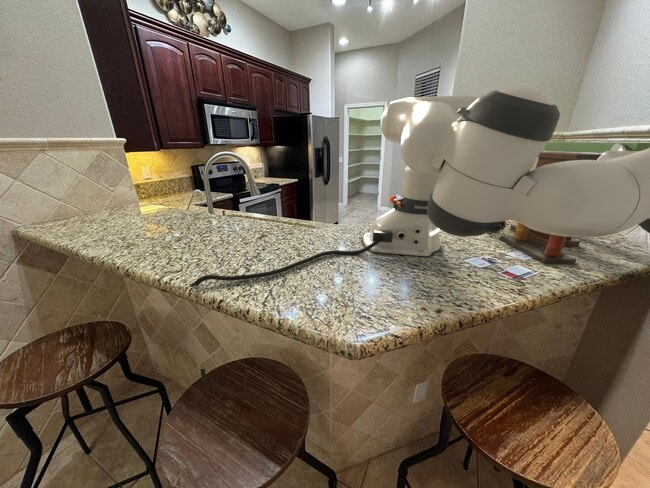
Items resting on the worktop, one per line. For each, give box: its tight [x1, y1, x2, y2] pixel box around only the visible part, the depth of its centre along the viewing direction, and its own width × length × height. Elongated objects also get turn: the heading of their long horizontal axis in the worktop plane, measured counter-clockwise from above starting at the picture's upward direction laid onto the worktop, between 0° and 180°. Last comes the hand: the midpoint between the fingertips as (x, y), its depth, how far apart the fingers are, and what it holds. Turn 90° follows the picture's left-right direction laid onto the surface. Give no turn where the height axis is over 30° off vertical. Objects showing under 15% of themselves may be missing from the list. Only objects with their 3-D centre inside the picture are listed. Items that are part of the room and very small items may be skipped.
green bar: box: [543, 141, 650, 154], centre depth 70 cm, size 3×26×2 cm, turn 0°
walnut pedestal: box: [509, 151, 603, 247], centre depth 80 cm, size 10×16×26 cm, turn 0°
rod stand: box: [499, 222, 577, 265], centre depth 72 cm, size 8×18×16 cm, turn 0°
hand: (625, 146), depth 62 cm, fingers closed on green bar, 3 cm apart
